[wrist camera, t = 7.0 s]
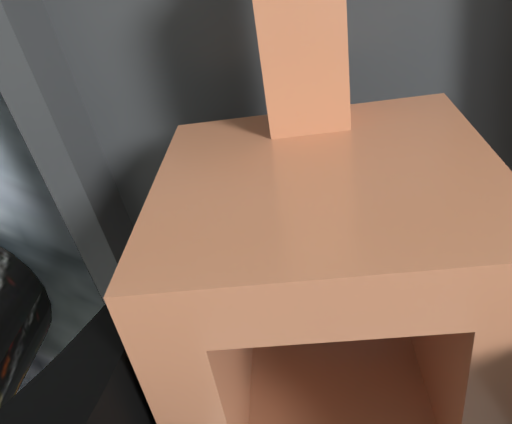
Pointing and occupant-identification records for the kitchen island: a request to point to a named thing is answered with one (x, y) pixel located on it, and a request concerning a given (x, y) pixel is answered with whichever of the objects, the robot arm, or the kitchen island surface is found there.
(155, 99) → the tray
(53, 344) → the kitchen island surface
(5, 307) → the deodorant
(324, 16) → the orange hollow square box
